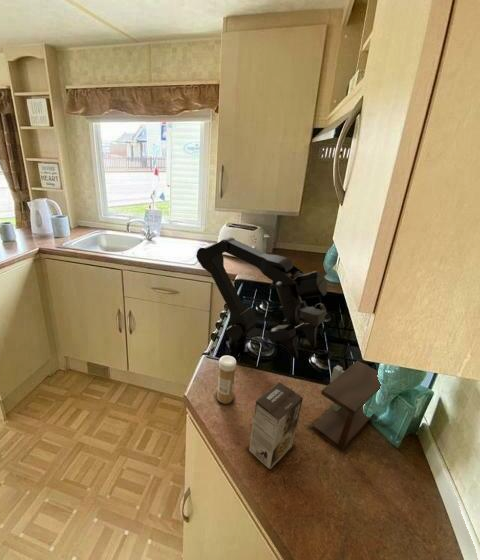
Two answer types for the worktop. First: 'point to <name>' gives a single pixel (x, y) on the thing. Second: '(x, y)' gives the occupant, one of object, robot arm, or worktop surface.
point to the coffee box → (274, 424)
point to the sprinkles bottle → (226, 379)
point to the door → (335, 374)
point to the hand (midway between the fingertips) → (305, 352)
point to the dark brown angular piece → (347, 404)
